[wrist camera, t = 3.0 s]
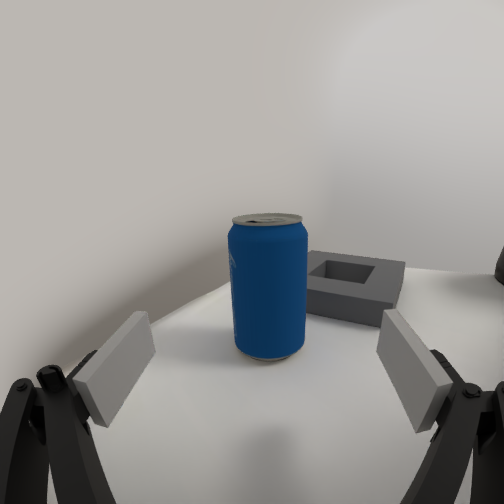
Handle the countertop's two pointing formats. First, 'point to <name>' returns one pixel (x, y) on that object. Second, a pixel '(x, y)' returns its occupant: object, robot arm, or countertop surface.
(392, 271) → the socket plate
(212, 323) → the countertop surface
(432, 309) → the countertop surface
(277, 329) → the beverage can
